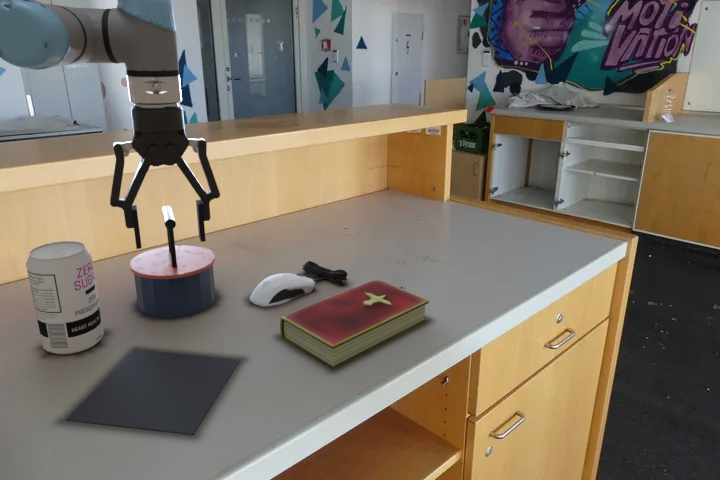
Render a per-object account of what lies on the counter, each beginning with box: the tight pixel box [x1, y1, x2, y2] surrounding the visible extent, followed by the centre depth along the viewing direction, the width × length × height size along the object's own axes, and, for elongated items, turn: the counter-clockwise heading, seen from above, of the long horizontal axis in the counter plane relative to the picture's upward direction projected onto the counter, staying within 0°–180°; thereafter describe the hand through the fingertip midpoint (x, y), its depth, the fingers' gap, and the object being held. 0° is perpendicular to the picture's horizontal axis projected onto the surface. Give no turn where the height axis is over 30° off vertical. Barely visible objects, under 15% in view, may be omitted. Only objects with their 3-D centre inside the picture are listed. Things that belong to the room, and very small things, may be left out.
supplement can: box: [25, 240, 105, 355], centre depth 80 cm, size 8×8×15 cm
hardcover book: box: [279, 278, 430, 371], centre depth 87 cm, size 12×21×4 cm, turn 135°
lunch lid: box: [129, 205, 216, 279], centre depth 91 cm, size 14×14×10 cm
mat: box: [65, 349, 241, 436], centre depth 72 cm, size 16×16×1 cm
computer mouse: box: [249, 260, 349, 308], centre depth 100 cm, size 10×18×4 cm, turn 136°
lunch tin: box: [133, 264, 216, 320], centre depth 94 cm, size 13×13×8 cm
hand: (171, 242), depth 92 cm, fingers open, 9 cm apart
